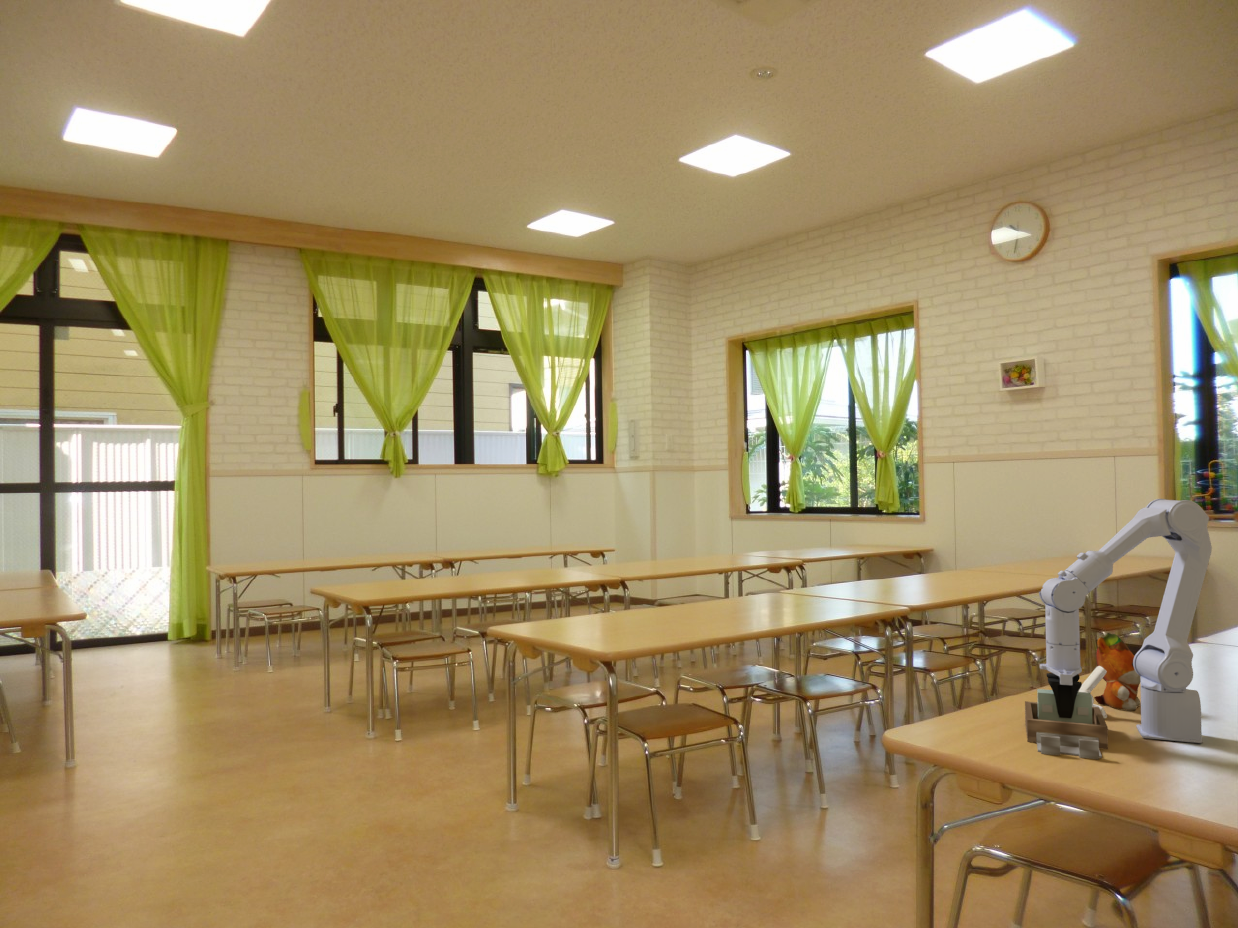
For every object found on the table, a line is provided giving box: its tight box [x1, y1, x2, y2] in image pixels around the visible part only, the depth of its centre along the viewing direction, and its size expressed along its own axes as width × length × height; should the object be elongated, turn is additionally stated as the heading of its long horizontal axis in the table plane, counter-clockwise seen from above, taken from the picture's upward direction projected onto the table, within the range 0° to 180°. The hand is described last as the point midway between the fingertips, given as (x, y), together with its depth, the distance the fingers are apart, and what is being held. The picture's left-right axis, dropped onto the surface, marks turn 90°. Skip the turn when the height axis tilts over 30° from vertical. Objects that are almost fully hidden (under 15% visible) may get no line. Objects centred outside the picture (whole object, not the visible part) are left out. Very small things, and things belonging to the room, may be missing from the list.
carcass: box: [1024, 700, 1109, 760], centre depth 163 cm, size 13×21×4 cm, turn 157°
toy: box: [1093, 632, 1141, 712], centre depth 187 cm, size 11×9×15 cm
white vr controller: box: [1078, 665, 1108, 720], centre depth 180 cm, size 8×12×7 cm
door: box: [1036, 688, 1093, 724], centre depth 166 cm, size 9×3×6 cm, turn 67°
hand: (1064, 714), depth 166 cm, fingers closed on door, 3 cm apart
